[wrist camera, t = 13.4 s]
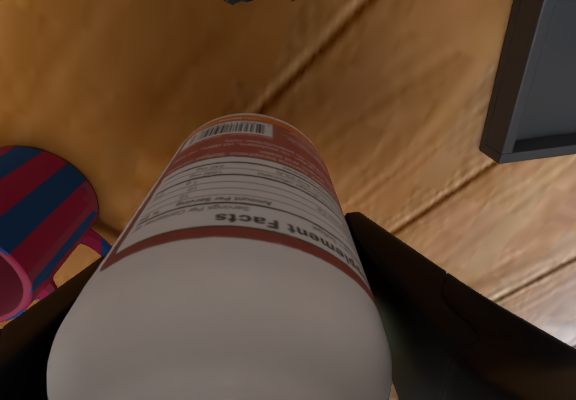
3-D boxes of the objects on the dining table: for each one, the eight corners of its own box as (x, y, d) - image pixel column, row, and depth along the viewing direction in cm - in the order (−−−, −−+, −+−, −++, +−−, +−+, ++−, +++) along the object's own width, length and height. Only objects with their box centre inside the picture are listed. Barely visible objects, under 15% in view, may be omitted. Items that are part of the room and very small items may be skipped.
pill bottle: (260, 264, 15) (239, 702, 5) (144, 190, 13) (-246, 736, 3) (358, 178, 13) (610, 667, 3) (240, 69, 10) (-99, 691, 1)
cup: (9, 121, 17) (-125, 182, 11) (163, 226, 21) (125, 310, 15) (-41, 194, 19) (-175, 276, 13) (108, 276, 23) (56, 366, 18)
